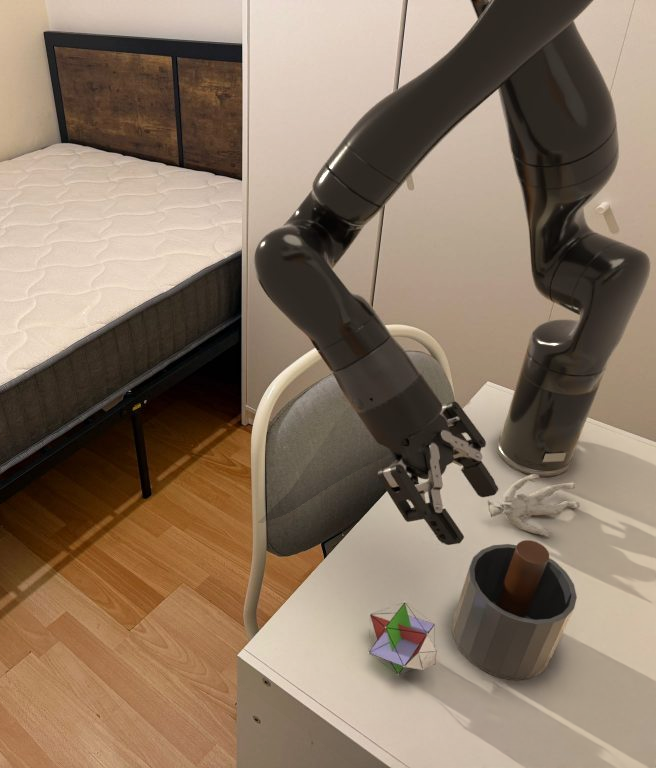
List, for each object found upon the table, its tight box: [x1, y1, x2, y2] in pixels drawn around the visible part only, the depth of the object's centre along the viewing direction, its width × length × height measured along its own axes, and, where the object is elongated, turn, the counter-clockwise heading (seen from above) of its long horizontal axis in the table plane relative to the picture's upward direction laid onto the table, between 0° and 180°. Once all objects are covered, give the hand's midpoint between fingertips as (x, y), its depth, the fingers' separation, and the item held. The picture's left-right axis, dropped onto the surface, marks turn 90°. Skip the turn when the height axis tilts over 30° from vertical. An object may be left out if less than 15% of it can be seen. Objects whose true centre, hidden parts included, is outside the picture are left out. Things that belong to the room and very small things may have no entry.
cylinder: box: [496, 539, 550, 618], centre depth 77 cm, size 3×3×14 cm
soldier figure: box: [487, 474, 581, 537], centre depth 94 cm, size 8×5×12 cm
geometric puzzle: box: [367, 601, 437, 676], centre depth 79 cm, size 7×7×8 cm
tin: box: [451, 543, 578, 681], centre depth 78 cm, size 10×10×10 cm
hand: (473, 517), depth 76 cm, fingers open, 8 cm apart
